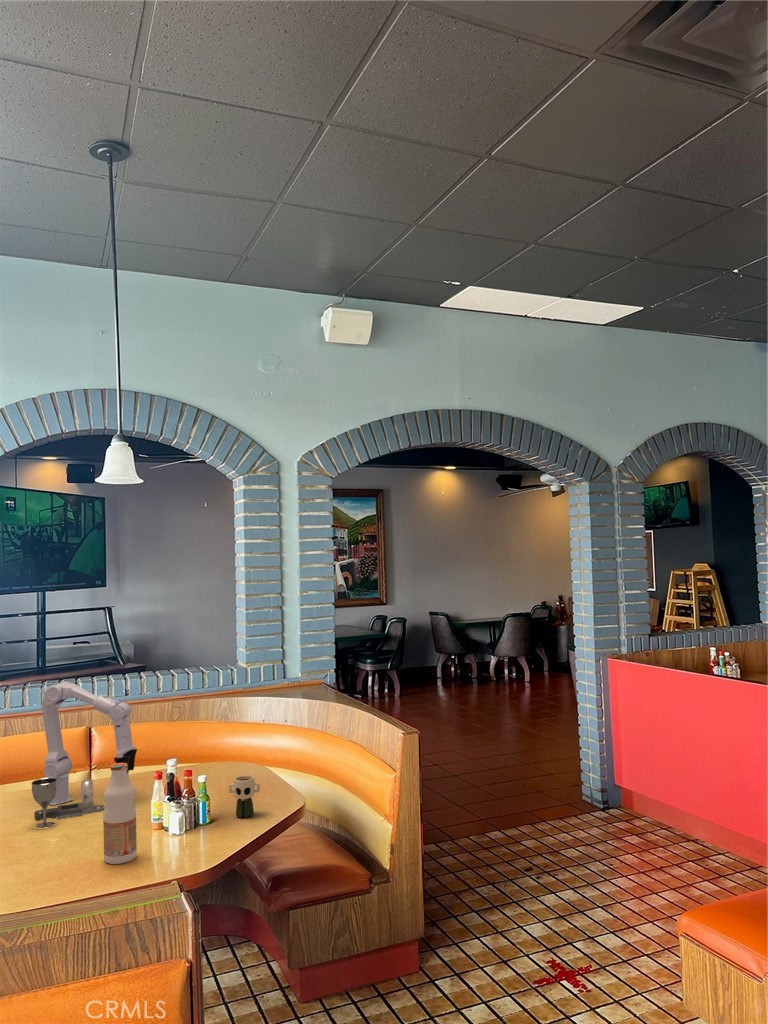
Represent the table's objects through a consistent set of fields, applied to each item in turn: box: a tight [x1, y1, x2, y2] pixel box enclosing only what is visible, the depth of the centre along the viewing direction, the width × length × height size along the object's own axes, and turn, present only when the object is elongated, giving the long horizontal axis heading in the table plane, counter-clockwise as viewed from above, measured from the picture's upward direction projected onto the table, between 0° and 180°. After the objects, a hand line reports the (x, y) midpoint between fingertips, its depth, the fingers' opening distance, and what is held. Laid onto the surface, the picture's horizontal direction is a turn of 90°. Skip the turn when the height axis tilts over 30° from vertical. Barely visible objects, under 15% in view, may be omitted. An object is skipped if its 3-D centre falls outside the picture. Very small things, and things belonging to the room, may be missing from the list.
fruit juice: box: [102, 762, 138, 865], centre depth 235 cm, size 9×9×28 cm
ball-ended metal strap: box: [33, 802, 105, 821], centre depth 277 cm, size 23×8×2 cm, turn 112°
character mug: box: [228, 774, 261, 818], centre depth 269 cm, size 11×7×13 cm, turn 90°
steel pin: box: [80, 779, 94, 807], centre depth 285 cm, size 4×4×9 cm
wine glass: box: [31, 777, 57, 828], centre depth 266 cm, size 8×8×15 cm
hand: (128, 772), depth 288 cm, fingers open, 7 cm apart
